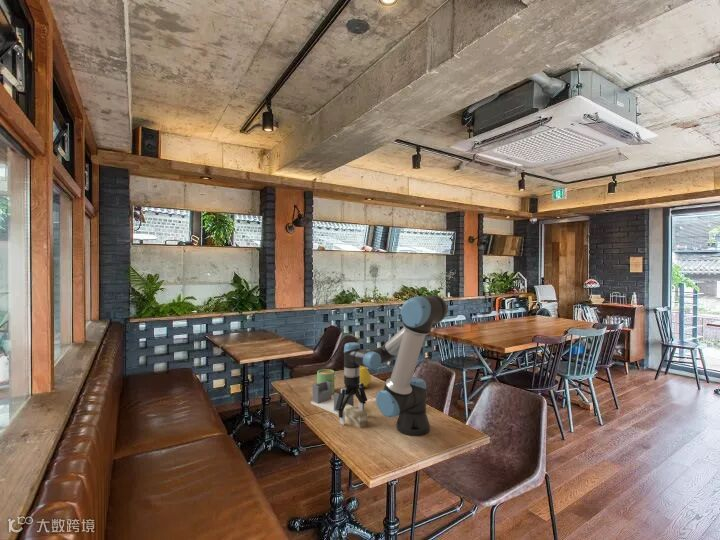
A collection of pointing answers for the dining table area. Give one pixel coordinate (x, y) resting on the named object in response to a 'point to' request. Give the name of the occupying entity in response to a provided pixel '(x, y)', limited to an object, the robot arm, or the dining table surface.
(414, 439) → the dining table surface
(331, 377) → the mug
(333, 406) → the bracket board
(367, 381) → the teapot
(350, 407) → the rail
